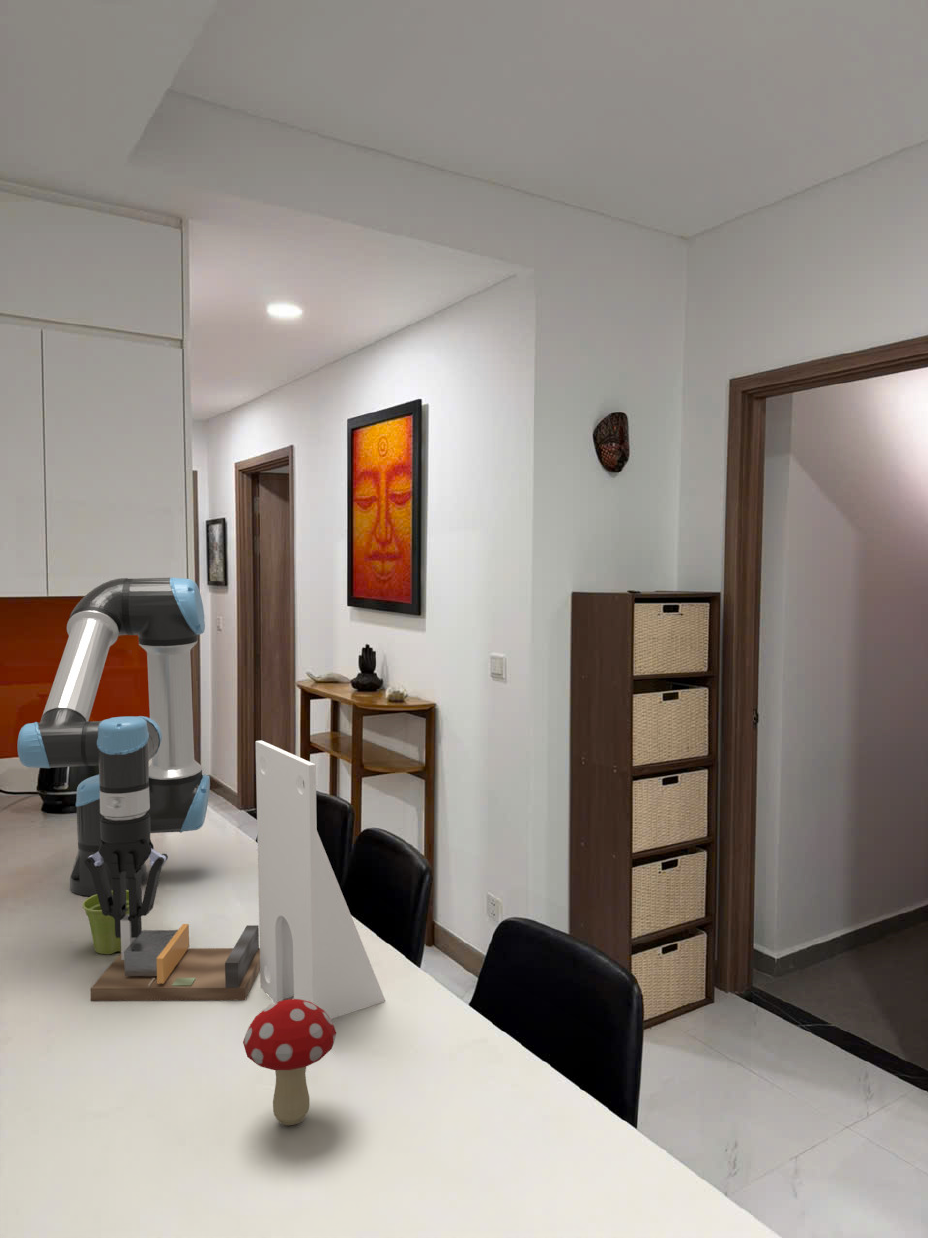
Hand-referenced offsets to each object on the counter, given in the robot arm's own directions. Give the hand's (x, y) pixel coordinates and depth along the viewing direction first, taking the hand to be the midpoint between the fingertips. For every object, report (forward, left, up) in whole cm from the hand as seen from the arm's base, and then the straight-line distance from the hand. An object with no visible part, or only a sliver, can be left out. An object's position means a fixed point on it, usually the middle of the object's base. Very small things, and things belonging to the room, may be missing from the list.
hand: (129, 956), depth 145 cm
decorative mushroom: (+37, +34, -4) cm, 50 cm away
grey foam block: (0, +4, -2) cm, 4 cm away
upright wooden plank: (0, +7, -2) cm, 7 cm away
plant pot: (-12, -7, -4) cm, 15 cm away
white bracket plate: (+7, +34, -4) cm, 34 cm away
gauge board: (0, +9, -4) cm, 9 cm away
